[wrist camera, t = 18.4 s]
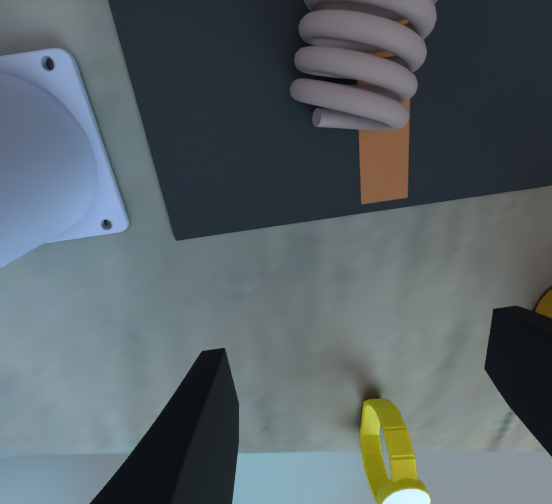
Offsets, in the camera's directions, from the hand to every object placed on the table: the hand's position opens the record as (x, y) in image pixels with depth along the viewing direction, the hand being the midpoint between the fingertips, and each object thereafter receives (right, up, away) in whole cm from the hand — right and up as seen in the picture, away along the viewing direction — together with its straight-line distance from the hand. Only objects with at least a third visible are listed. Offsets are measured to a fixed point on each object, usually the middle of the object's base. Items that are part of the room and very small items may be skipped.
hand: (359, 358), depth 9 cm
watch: (+4, -9, +14) cm, 17 cm away
